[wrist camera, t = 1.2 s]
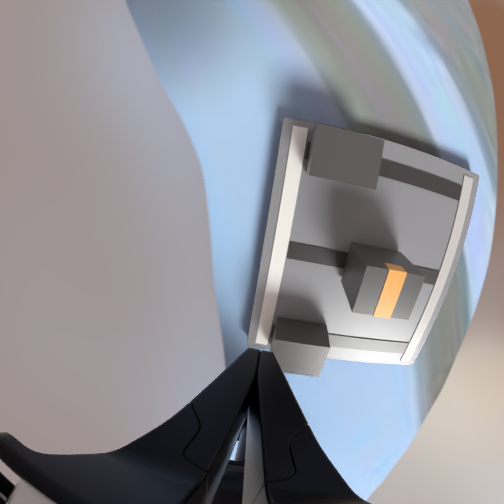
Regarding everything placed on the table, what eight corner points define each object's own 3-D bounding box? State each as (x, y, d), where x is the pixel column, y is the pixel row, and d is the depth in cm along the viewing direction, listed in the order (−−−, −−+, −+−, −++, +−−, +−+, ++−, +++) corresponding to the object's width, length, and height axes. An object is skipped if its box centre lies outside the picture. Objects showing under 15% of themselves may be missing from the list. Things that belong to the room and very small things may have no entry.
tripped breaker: (388, 289, 19) (408, 321, 15) (340, 281, 20) (351, 313, 15) (400, 251, 18) (426, 276, 14) (351, 241, 18) (367, 265, 14)
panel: (408, 357, 23) (421, 386, 19) (248, 337, 24) (240, 369, 20) (471, 173, 16) (502, 179, 12) (283, 119, 18) (282, 108, 14)
